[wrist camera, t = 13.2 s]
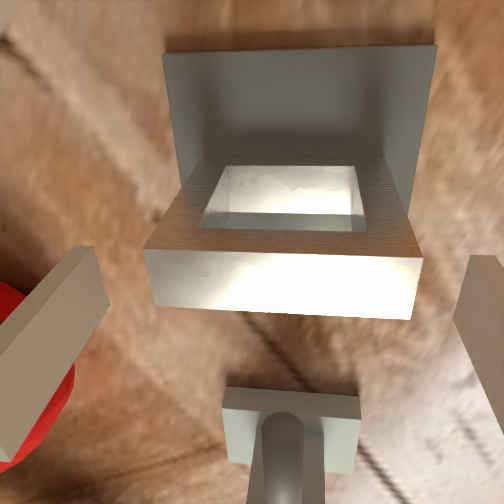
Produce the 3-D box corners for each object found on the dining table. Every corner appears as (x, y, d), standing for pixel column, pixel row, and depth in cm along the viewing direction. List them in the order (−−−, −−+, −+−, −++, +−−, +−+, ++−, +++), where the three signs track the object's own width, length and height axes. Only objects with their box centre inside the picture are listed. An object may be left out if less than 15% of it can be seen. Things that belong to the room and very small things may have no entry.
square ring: (208, 198, 23) (155, 306, 15) (202, 154, 21) (142, 248, 14) (377, 201, 22) (409, 319, 14) (383, 154, 20) (423, 258, 13)
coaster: (196, 263, 26) (193, 268, 26) (165, 52, 19) (161, 54, 19) (394, 270, 24) (396, 276, 24) (434, 43, 18) (437, 45, 17)
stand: (351, 450, 35) (364, 641, 25) (232, 439, 36) (200, 616, 26) (371, 308, 26) (405, 510, 16) (216, 301, 28) (159, 483, 18)
